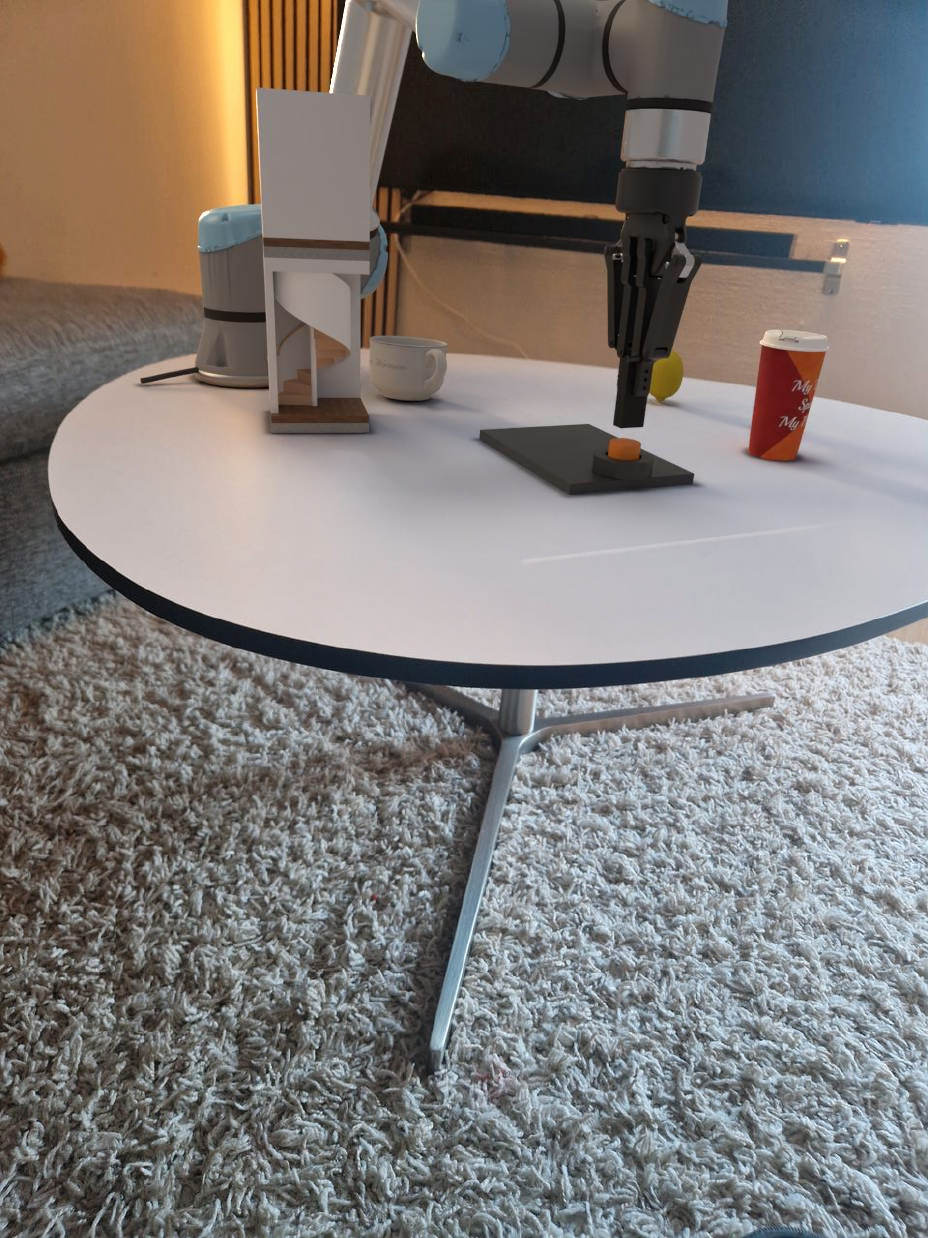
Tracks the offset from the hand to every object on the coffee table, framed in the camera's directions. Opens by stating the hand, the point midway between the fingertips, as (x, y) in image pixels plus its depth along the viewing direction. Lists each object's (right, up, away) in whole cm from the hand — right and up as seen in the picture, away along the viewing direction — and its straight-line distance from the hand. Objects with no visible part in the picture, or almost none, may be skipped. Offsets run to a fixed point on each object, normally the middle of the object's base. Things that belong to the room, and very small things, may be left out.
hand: (628, 425), depth 91 cm
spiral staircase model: (-35, +5, +20) cm, 40 cm away
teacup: (-24, +11, +34) cm, 43 cm away
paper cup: (+20, 0, +17) cm, 26 cm away
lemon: (+12, +12, +41) cm, 44 cm away
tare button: (0, -3, +2) cm, 3 cm away
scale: (-4, -2, +10) cm, 10 cm away
